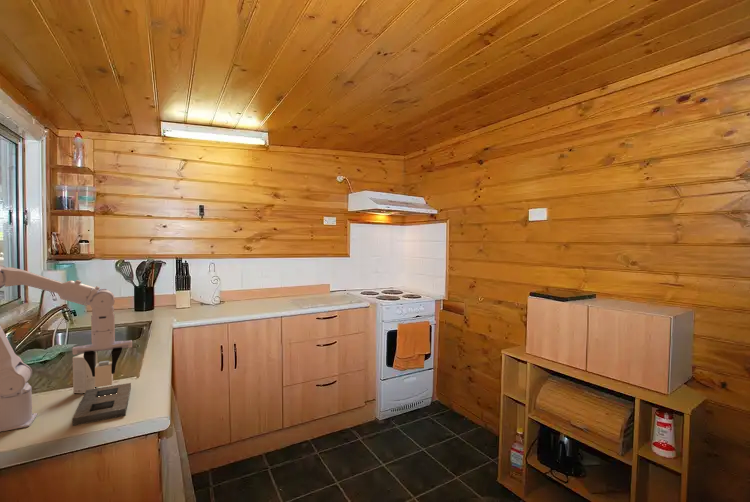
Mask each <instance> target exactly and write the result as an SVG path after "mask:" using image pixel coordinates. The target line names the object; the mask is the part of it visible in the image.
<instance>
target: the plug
mask: <svg viewBox="0 0 750 502" xmlns="http://www.w3.org/2000/svg"><path fill="white" fill-rule="evenodd" d="M113 381H114V374H112V361H110V360H103V361H102V360H101V361H99V362H98V363H97V364H96V366H95V387H97V388H102V387H108V386H113V385H112V384H113V383H114V382H113Z"/></svg>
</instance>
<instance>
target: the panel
mask: <svg viewBox="0 0 750 502" xmlns="http://www.w3.org/2000/svg"><path fill="white" fill-rule="evenodd" d="M131 389H132V382H129V383H123V384H122V383H121V384H117V385H108V386H101V387H97V388H95V389H90V390H86V392H85V394H83V396H82V399H81V401H80V403H79V404H78V406H77V409H76V411H75V413H74V415H73V416H72V427H73V426H79V425H84V424H88V423H95V422H98V421H99V422H101V421H105V420H110V419H114V418H119V417H120V418H121V417H125V416H126V415H127V410H128V406H129V405H128V404H129V401H130V395H131ZM116 393H117V394H116ZM110 394H112V395H110ZM104 395H106V396H104ZM98 396H100V397H98Z"/></svg>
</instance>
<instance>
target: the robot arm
mask: <svg viewBox="0 0 750 502" xmlns="http://www.w3.org/2000/svg"><path fill="white" fill-rule="evenodd" d="M22 285H23V286H27V287H31V288H35V289H38V290H39V289H40V290H42V291H43V290H44V291H48V292H52V293H55V294H57V295H58V296H59V298H60V300H64V301H66V302H71V303H74V304H78V305H82V306H86V307H87V306H90V308H91V309H92V310H91V314H92V315H91V318H90V321H91V324H90V325H91V330H90V331H91V334H90V335H91V344H85V345H84V344H83V345H78V346H74V347H72V351H71V352H72V355H73V356H74V355H75V356H77V355H80V354H83V353H84V356H83V357H84V359H85V360H86V362H87V363H88V365H89V367H90V369H91V372H92V376H93V377H94V376H95V366H96V352H105V351H110V350H111V362H112V374H113V375H114V374H115V373H116V366H117V362H118V360H119V358H120V355H121V354H122V352H123V349H132V348H133V340H132V339H130V340H117V341H116V340H115V339H116V324H115V323H116V321H115V318H116V317H115V314H116V313H114V312H115V307H114V305H115V294H114V293H113V292H112V291H110V290H108V289H107V288H101V287H100V286H95V287H94V286H92V285H88V284H85V283H83V282H82V280H79V279H76V280H75V281H74V280H68V281H65V282H61V281H58V280H55V279H53V278H50V277H47V276H43V275H40V274H37V273H34V272H32V271H27V270H25V269H20V268H16V267H11V266H10V267H9V266H5V265H2V264H0V290H1V289H2V288H3V287H6V288H7V287H13V286H22ZM32 376H33V369H32V367H30V366H29V365H27V364H26V363H24V362H23V360H22V358H21V357H20V356H19V355H18V354H16V353H15V351H14V349H13V347H12V345H11V343H10V341H9V339H8V338H7V336H6V334H5V331H4V329H3V327H2V326H1V325H0V433H1V432H5V431H10V430H17V429H22V428H27V427H30V426H31V425H32V423H33V422H34V421H35V419H36V417H37V416H38V413H37V412H34V413H33V399H32V398H33V393H32V385H30V383H29V381H30V379H31V377H32Z"/></svg>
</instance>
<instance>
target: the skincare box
mask: <svg viewBox="0 0 750 502" xmlns="http://www.w3.org/2000/svg"><path fill="white" fill-rule="evenodd" d="M83 356H84V353H80V354H77V355H75V356H73V357H72V385H73V387H72V388H73V389H72V393H73V394H74V393H85V392H86V390H90V389H94V388H95V376H94V377H93V376H92V372H91V369H90V367H89V365H88V363H87V362H86V360H85V359H84V357H83ZM97 363H99V362H98V351H96V364H97ZM95 389H96V388H95Z"/></svg>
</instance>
